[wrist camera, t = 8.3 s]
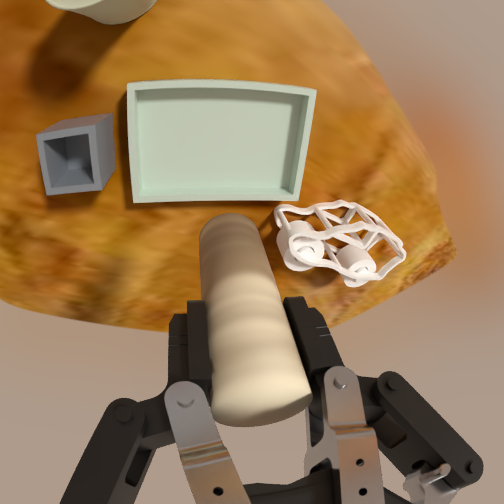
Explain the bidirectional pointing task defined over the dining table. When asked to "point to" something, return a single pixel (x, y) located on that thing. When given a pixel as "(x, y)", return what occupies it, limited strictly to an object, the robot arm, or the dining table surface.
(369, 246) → the white wireframe roller cage
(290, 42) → the dining table surface
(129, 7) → the can
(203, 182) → the tray
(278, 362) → the dowel pin
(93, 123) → the deep cup
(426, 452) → the robot arm
